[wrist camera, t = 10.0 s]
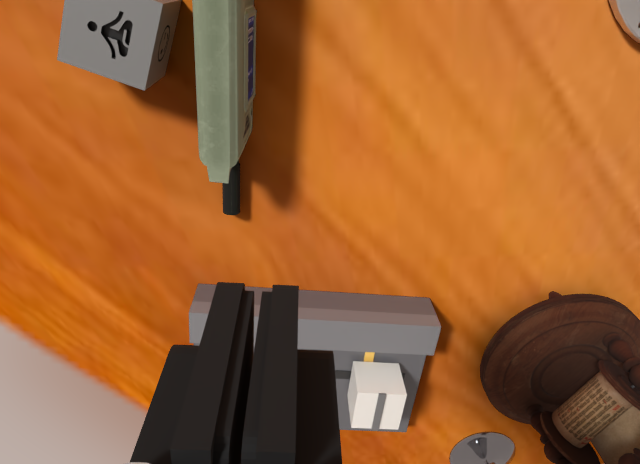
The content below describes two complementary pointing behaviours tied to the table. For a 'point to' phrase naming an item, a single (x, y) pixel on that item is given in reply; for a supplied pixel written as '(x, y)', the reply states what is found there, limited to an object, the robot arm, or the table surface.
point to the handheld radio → (224, 88)
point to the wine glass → (483, 449)
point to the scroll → (570, 377)
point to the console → (352, 334)
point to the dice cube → (119, 38)
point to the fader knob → (376, 395)
